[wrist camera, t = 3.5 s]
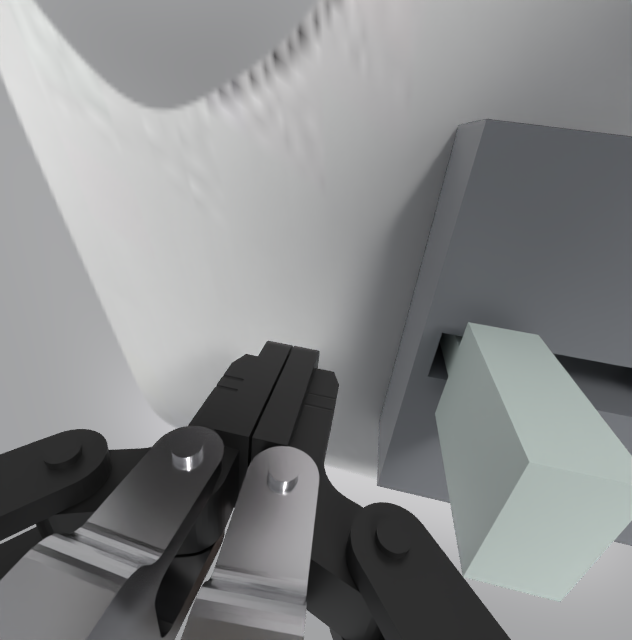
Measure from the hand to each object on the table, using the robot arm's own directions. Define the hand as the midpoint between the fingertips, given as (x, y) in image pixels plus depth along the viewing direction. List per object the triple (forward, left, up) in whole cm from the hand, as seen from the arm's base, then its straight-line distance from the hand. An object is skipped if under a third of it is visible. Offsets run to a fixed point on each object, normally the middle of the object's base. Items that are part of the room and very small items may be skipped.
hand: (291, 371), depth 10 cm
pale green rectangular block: (0, +6, -6) cm, 9 cm away
